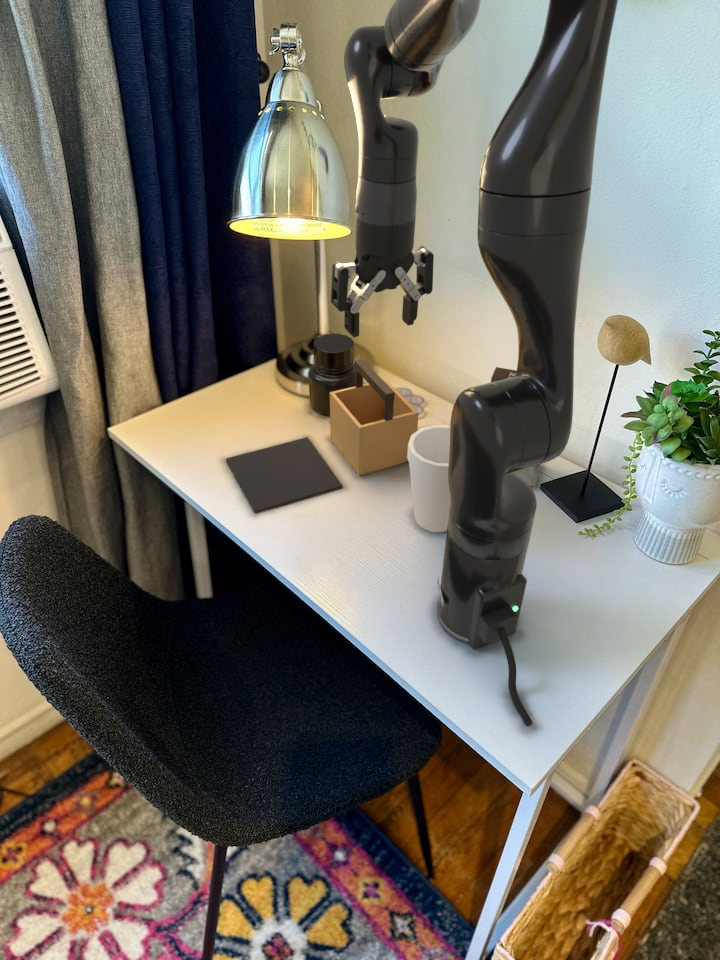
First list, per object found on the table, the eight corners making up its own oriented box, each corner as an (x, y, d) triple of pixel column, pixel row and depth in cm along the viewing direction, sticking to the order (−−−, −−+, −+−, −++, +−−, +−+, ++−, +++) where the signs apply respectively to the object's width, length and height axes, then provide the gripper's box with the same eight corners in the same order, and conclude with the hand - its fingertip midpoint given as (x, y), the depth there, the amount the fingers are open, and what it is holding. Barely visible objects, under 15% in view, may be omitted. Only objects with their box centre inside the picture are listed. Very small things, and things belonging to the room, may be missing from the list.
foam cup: (392, 525, 103) (396, 452, 95) (419, 489, 109) (425, 418, 101) (454, 548, 99) (464, 474, 91) (478, 509, 106) (489, 437, 98)
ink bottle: (342, 384, 133) (342, 325, 125) (371, 405, 127) (372, 345, 120) (298, 401, 128) (295, 340, 121) (325, 423, 123) (324, 361, 115)
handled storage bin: (415, 459, 115) (420, 385, 107) (358, 475, 112) (359, 401, 103) (384, 424, 123) (386, 352, 114) (330, 438, 119) (329, 366, 111)
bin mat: (342, 487, 110) (342, 485, 109) (254, 513, 105) (254, 511, 104) (307, 438, 119) (307, 437, 119) (226, 460, 115) (225, 458, 114)
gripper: (346, 230, 85) (346, 351, 96) (450, 214, 90) (438, 330, 100) (321, 210, 90) (323, 326, 101) (420, 195, 95) (412, 307, 106)
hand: (381, 328), depth 101 cm, fingers open, 8 cm apart
